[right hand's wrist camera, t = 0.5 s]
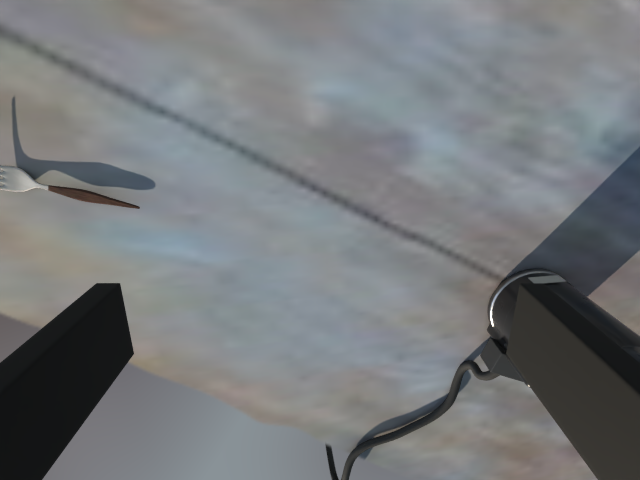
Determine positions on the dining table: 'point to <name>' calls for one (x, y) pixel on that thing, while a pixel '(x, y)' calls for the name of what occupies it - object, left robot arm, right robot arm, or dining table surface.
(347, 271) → the dining table surface
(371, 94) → the dining table surface
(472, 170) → the dining table surface
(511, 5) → the dining table surface
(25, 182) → the fork
